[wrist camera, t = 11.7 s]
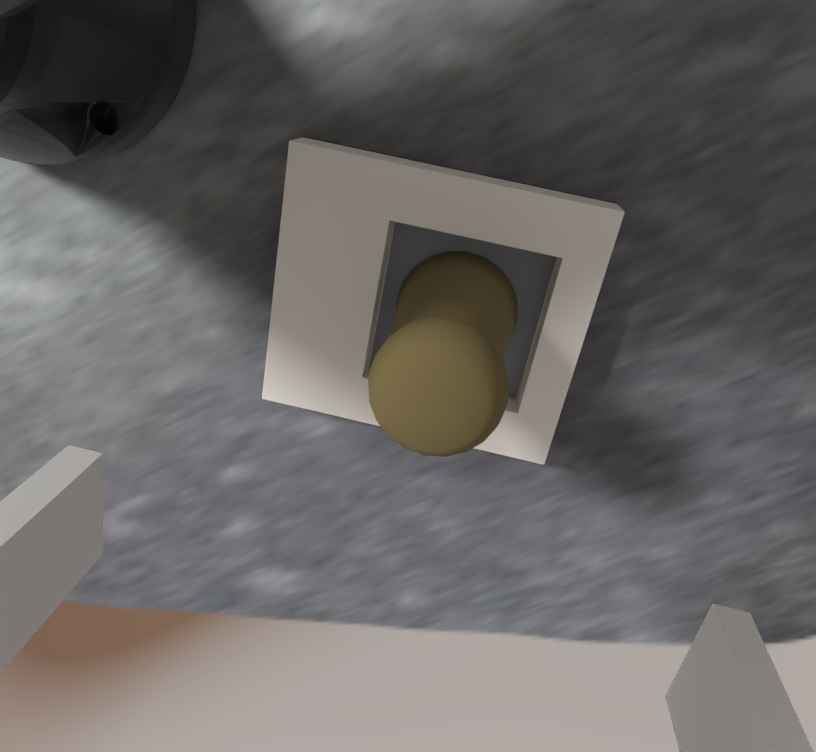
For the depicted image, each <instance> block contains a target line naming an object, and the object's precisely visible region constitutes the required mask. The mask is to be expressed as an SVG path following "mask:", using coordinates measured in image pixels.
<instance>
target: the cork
mask: <svg viewBox="0 0 816 752" xmlns="http://www.w3.org/2000/svg"><path fill="white" fill-rule="evenodd" d="M517 312H518V302H517V298H516V295H515V292H514V288H513V285H512V284H511V282H510V281H509V279H508V278H507V276H506V275H505V274H504V272H503V271H502V269H500V268H499V267H498V266H496V265H495V264H494V263H492V262H491V261H490V260H488V259H487V258H485V257H482V256H479V255H476V254H473V253H470V252H467V251H446V252H443V253H440V254H436V255H433V256H430V257H428V258H426V259H425V260H424V261H422V262H421V263H419V264H418V265H417V266H415V267H414V268H413V269H412V270H411V272H410V273H409V274H408V276H407V277H406V278H405V280H404V281H403V283H402V285H401V289H400V292H399V295H398V298H397V304H396V315H395V326H394V333H393V334H392V335H390V336H389V337H388V339H387V340H386V341H385V343H384V344H383V345H382V347H381V348H380V349H379V351H378V352H377V354H376V355H375V357H374V360H373V363H372V366H371V370H370V373H369V376H368V386H369V402H370V406H371V408H372V411H373V413H374V416H375V418H376V421H377V422H378V424H379V425H380V426H381V427H382V429H383V430H384V431H385V432H386V434H387V435H388V436H389V437H390V438H391V439H393V440H394V441H396V442H397V443H399V444H400V445H402V446H403V447H404V448H406V449H408V450H411V451H414V452H417V453H420V454H423V455H429V456H450V455H455V454H459V453H464V452H467V451H469V450H470V449H472V448H474V447H476V446H477V445H479V444H481V443H483V442H484V441H485V440H486V439H487V438H488V437H489V435H490V434H491V433H492V432H493V431H494V430H495V429H496V428H497V426H498V425H499V423H500V421H501V419H502V416H503V414H504V412H505V409H506V407H507V405H508V391H509V376H508V373H507V370H506V366H505V363H504V360H503V356H504V353H505V351H506V348H507V345H508V343H509V340H510V338H511V335H512V333H513V330H514V328H515V325H516V323H517Z"/></svg>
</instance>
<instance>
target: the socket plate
mask: <svg viewBox="0 0 816 752" xmlns="http://www.w3.org/2000/svg"><path fill="white" fill-rule="evenodd" d="M624 213H625V212H624V211H623V210H622V208H621V207H620V206H619V205H618V204H615V203H610V202H605V201H601V200H596V199H591V198H587V197H582V196H577V195H573V194H568V193H563V192H558V191H554V190H549V189H544V188H540V187H535V186H530V185H525V184H521V183H516V182H511V181H507V180H502V179H497V178H493V177H488V176H483V175H478V174H474V173H469V172H464V171H460V170H455V169H450V168H446V167H441V166H436V165H431V164H427V163H422V162H417V161H413V160H408V159H403V158H399V157H394V156H389V155H384V154H380V153H375V152H370V151H366V150H361V149H356V148H351V147H347V146H342V145H337V144H333V143H328V142H323V141H319V140H314V139H309V138H304V137H302V138H298V139H294V140H289V147H288V157H287V166H286V176H285V185H284V195H283V204H282V213H281V223H280V232H279V242H278V251H277V261H276V270H275V280H274V289H273V299H272V308H271V318H270V327H269V337H268V346H267V356H266V365H265V375H264V384H263V394H262V399H266V400H270V401H275V402H279V403H283V404H287V405H292V406H296V407H300V408H304V409H309V410H313V411H317V412H321V413H326V414H330V415H334V416H338V417H343V418H347V419H351V420H355V421H360V422H364V423H368V424H372V425H377V426H380V425H379V424H378V422H377V421H376V418H375V416H374V413H373V411H372V408H371V406H370V402H369V386H368V376H369V373H370V370H371V366H372V363H373V360H374V357H375V355H376V354H377V352H378V351H379V349H380V348H381V347H382V345H383V344H384V343H385V341H386V340H387V339H388V337H389V336H390V335H392V334H393V333H394V326H395V315H396V304H397V298H398V295H399V292H400V289H401V285H402V283H403V281H404V280H405V278H406V277H407V276H408V274H409V273H410V272H411V270H412V269H413V268H414V267H415V266H417V265H418V264H419V263H421V262H422V261H424V260H425V259H426V258H428V257H430V256H433V255H436V254H440V253H443V252H446V251H467V252H470V253H473V254H476V255H479V256H482V257H485V258H487V259H488V260H490V261H491V262H492V263H494V264H495V265H496V266H498V267H499V268H500V269H502V271H503V272H504V274H505V275H506V276H507V278H508V279H509V281H510V282H511V284H512V285H513V288H514V292H515V295H516V298H517V302H518V312H517V323H516V325H515V328H514V330H513V333H512V335H511V338H510V340H509V343H508V345H507V348H506V351H505V353H504V356H503V360H504V363H505V366H506V370H507V373H508V376H509V391H508V405H507V407H506V409H505V412H504V414H503V416H502V419H501V421H500V423H499V425H498V426H497V428H496V429H495V430H494V431H493V432H492V433H491V434H490V435H489V437H488V438H487V439H486V440H485V441H484V442H483V443H481V444H479V445H477V446H476V447H474V449H479V450H483V451H487V452H492V453H496V454H500V455H504V456H509V457H513V458H517V459H521V460H526V461H530V462H534V463H538V464H543V465H544V464H545V461H546V458H547V454H548V451H549V448H550V445H551V442H552V439H553V436H554V432H555V429H556V426H557V423H558V420H559V417H560V414H561V411H562V407H563V404H564V401H565V398H566V395H567V392H568V389H569V385H570V382H571V379H572V376H573V373H574V370H575V367H576V364H577V360H578V357H579V354H580V351H581V348H582V345H583V342H584V338H585V335H586V332H587V329H588V326H589V323H590V320H591V317H592V313H593V310H594V307H595V304H596V301H597V298H598V295H599V292H600V288H601V285H602V282H603V279H604V276H605V273H606V270H607V266H608V263H609V260H610V257H611V254H612V251H613V248H614V245H615V241H616V238H617V235H618V232H619V229H620V226H621V223H622V219H623V216H624Z"/></svg>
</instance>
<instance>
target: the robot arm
mask: <svg viewBox="0 0 816 752" xmlns="http://www.w3.org/2000/svg"><path fill="white" fill-rule="evenodd" d="M195 21H196V1H195V0H0V157H2V158H5V159H9V160H13V161H18V162H24V163H32V164H48V165H55V164H66V163H72V162H78V161H85V160H91V159H97V158H100V157H104V156H108V155H110V154H113V153H116V152H118V151H120V150H122V149H125V148H126V147H128V146H130V145H131V144H133V143H135V142H136V141H137V140H139V139H140V138H142V137H143V136H144V135H145V134H146V133H148V132H149V131H150V130H151V129H152V128H153V127H154V126H155V125H156V124H157V123H158V122H159V120H160V119H161V118H162V117H163V115H164V114H165V113H166V111H167V110H168V108H169V107H170V105H171V104H172V102H173V100H174V99H175V97H176V95H177V93H178V91H179V89H180V87H181V84H182V82H183V79H184V77H185V74H186V71H187V68H188V64H189V61H190V56H191V52H192V47H193V41H194V34H195ZM102 555H103V453H99V452H95V451H91V450H87V449H83V448H78V447H74V446H70V445H68V446H67V447H66V448H65V449H64V450H62V451H61V452H60V453H59V454H58V455H56V456H55V457H54V458H53V459H51V460H50V461H49V462H48V463H47V464H45V465H44V466H43V467H42V468H40V469H39V470H38V471H37V472H36V473H34V474H33V475H32V476H31V477H30V478H28V479H27V480H26V481H25V482H23V483H22V484H21V485H20V486H19V487H17V488H16V489H15V490H14V491H13V492H11V493H10V494H9V495H8V496H6V497H5V498H4V499H3V500H2V501H0V673H1V671H2V670H3V669H4V668H5V667H6V666H7V665H8V663H9V662H10V661H11V660H12V659H13V658H14V656H15V655H16V654H17V653H18V652H19V651H20V650H21V648H22V647H23V646H24V645H25V644H26V643H27V641H28V640H29V639H30V638H31V637H32V636H33V634H34V633H35V632H36V631H37V630H38V629H39V628H40V626H41V625H42V624H43V623H44V622H45V620H46V619H47V618H48V617H49V616H50V615H51V613H52V612H53V611H54V610H55V609H56V608H57V607H58V605H59V604H60V603H61V602H62V601H63V600H64V599H65V597H66V596H67V595H68V594H69V593H70V592H71V590H72V589H73V588H74V587H75V586H76V585H77V583H78V582H79V581H80V580H81V579H82V578H83V577H84V575H85V574H86V573H87V572H88V571H89V570H90V568H91V567H92V566H93V565H94V564H95V563H96V561H97V560H98V559H99V558H100V557H101V556H102ZM666 700H667V704H668V708H669V712H670V715H671V719H672V724H673V728H674V731H675V735H676V739H677V743H678V747H679V751H680V752H813V750H812V748H811V746H810V744H809V741H808V739H807V737H806V735H805V733H804V730H803V728H802V726H801V724H800V722H799V719H798V717H797V715H796V713H795V711H794V708H793V706H792V704H791V702H790V700H789V697H788V695H787V693H786V691H785V689H784V686H783V684H782V682H781V680H780V678H779V676H778V673H777V671H776V669H775V667H774V664H773V662H772V660H771V658H770V656H769V653H768V651H767V649H766V647H765V645H764V642H763V640H762V638H761V636H760V634H759V631H758V629H757V627H756V625H755V623H754V620H753V618H752V616H751V614H750V612H746V611H742V610H738V609H733V608H729V607H725V606H721V605H717V604H712V606H711V607H710V609H709V611H708V613H707V615H706V617H705V619H704V621H703V623H702V625H701V627H700V629H699V631H698V633H697V635H696V637H695V639H694V641H693V643H692V645H691V647H690V649H689V651H688V653H687V655H686V657H685V659H684V661H683V662H682V665H681V666H680V668H679V670H678V673H677V674H676V676H675V678H674V680H673V682H672V684H671V687H670V688H669V690H668V692H667V694H666Z"/></svg>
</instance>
